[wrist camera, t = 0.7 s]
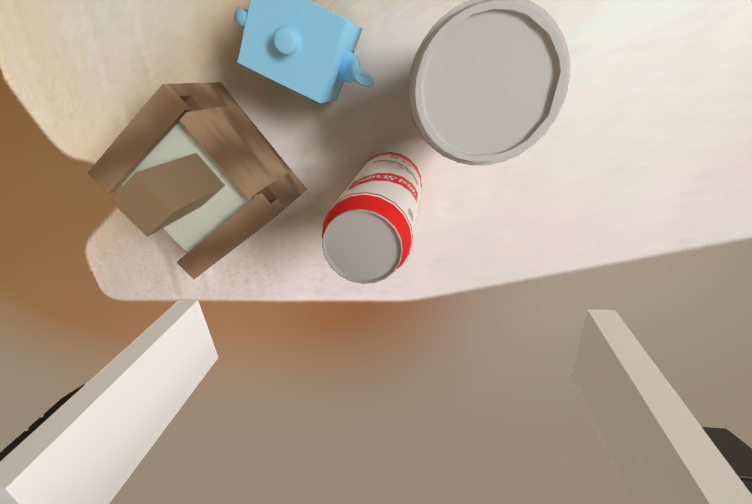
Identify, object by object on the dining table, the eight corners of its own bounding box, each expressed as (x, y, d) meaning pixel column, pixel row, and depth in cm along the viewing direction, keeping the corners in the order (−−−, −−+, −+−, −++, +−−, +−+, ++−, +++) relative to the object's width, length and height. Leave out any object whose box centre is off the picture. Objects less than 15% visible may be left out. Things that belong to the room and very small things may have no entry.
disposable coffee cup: (476, 160, 34) (494, 198, 24) (396, 99, 33) (376, 110, 22) (553, 67, 30) (617, 63, 19) (465, -7, 29) (480, -55, 18)
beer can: (371, 141, 35) (326, 185, 21) (431, 162, 35) (427, 222, 21) (354, 198, 38) (304, 272, 24) (409, 218, 38) (392, 304, 24)
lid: (122, 175, 34) (39, 201, 27) (183, 109, 30) (106, 119, 23) (200, 255, 37) (143, 298, 30) (265, 203, 33) (218, 238, 26)
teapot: (399, 47, 31) (388, 39, 25) (371, 114, 34) (355, 124, 27) (273, -17, 31) (227, -43, 24) (255, 57, 33) (210, 53, 27)
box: (152, 155, 39) (87, 173, 32) (220, 82, 35) (162, 84, 27) (235, 244, 43) (193, 279, 36) (306, 189, 38) (276, 216, 31)
